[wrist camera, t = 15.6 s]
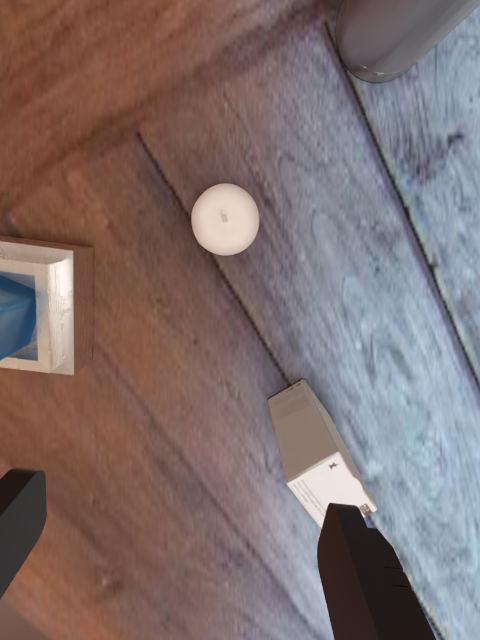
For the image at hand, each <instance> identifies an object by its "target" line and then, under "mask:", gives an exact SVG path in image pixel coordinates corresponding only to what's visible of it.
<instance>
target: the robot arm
mask: <svg viewBox="0 0 480 640" xmlns="http://www.w3.org/2000/svg"><path fill="white" fill-rule="evenodd" d="M479 5H480V0H344V1H343V3H342V6H341V8H340V11H339V14H338V18H337V24H336V42H337V47H338V51H339V54H340V56H341V59H342V61H343V62H344V64H345V65H346V67H347V68H348V69H349V70H350V71H351V72H352V73H353V74H354V75H355V76H357V77H359V78H360V79H362V80H365V81H369V82H379V83H381V82H386V81H390V80H393V79H395V78H397V77H399V76H401V75H402V74H403V73H405V72H406V71H407V70H409V69H410V68H411V67H412V66H413V65H414V64H415V63H416V62H418V61H419V60H420V59H421V58H422V57H423V56H424V55H425V54H426V53H427V52H429V51H430V50H431V49H432V48H433V47H434V46H435V45H436V44H438V43H439V42H440V41H441V40H442V39H443V38H444V37H445V36H446V35H447V34H448V33H450V32H451V31H452V30H453V29H454V28H455V27H456V26H457V25H458V24H459V23H461V22H462V21H463V20H464V19H465V18H466V17H467V16H468V15H469V14H470V13H471V12H473V11H474V10H475V9H476V8H477V7H478V6H479ZM46 515H47V509H46V481H45V473H44V471H42V470H33V469H24V468H12V469H10V470H9V471H8V472H7V473H6V474H5V475H4V476H3V477H2V478H1V479H0V599H1V597H2V596H3V594H4V593H5V591H6V590H7V588H8V586H9V585H10V583H11V582H12V580H13V579H14V577H15V575H16V574H17V572H18V571H19V569H20V568H21V566H22V564H23V563H24V561H25V560H26V558H27V557H28V555H29V553H30V552H31V550H32V549H33V547H34V546H35V544H36V542H37V541H38V539H39V537H40V535H41V533H42V531H43V528H44V525H45V521H46ZM317 560H318V568H319V573H320V578H321V582H322V586H323V591H324V595H325V600H326V604H327V608H328V613H329V617H330V622H331V626H332V630H333V635H334V639H335V640H436V638H435V636H434V634H433V631H432V629H431V627H430V625H429V623H428V621H427V619H426V617H425V615H424V612H423V610H422V608H421V606H420V604H419V602H418V600H417V598H416V595H415V593H414V591H412V590H411V585H410V583H409V581H408V579H407V576H406V574H405V573H404V572H403V568H402V566H401V564H400V562H399V559H398V557H397V555H396V553H395V551H394V549H393V547H392V546H391V545H390V543H389V542H388V541H387V540H386V539H385V538H384V536H383V535H382V534H381V533H380V532H379V531H378V529H374V528H367V525H366V523H365V521H364V518H363V516H362V513H361V511H360V509H359V508H358V507H357V506H356V505H347V504H338V503H329V504H328V507H327V510H326V514H325V518H324V522H323V526H322V530H321V534H320V537H319V541H318V548H317Z"/></svg>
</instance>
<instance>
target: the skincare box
mask: <svg viewBox="0 0 480 640" xmlns="http://www.w3.org/2000/svg"><path fill="white" fill-rule="evenodd" d="M268 404H269V408H270V412H271V417H272V421H273V425H274V430H275V434H276V438H277V442H278V447H279V451H280V455H281V459H282V464H283V468H284V472H285V477H286V481H287V485H288V486H289V488H290V489H291V490H292V491H293V493H294V494H295V496H296V497H297V498H298V499H299V501H300V502H301V503H302V505H303V506H304V507H305V509H306V510H307V511H308V512H309V514H310V515H311V516H312V517H313V519H314V520H315V521H316V523H317V524H318V525H319V526H320V528H321V529H322V526H323V522H324V518H325V514H326V510H327V507H328V504H329V503H338V504H347V505H356V506H357V507H358V508H359V509H360V511H361V513H362V516H363V518H364V517H365V516H367V515H369V514H371V513H372V512H374V511H376V510H377V507H376V505H375V503H374V501H373V499H372V497H371V495H370V493H369V491H368V489H367V487H366V485H365V483H364V482H363V480H362V478H361V476H360V474H359V472H358V470H357V468H356V466H355V464H354V462H353V460H352V458H351V456H350V454H349V452H348V450H347V448H346V446H345V445H344V443H343V441H342V439H341V437H340V435H339V433H338V431H337V429H336V427H335V425H334V423H333V421H332V419H331V417H330V416H329V414H328V412H327V411H326V409H325V408H324V407H323V405H322V404H321V402H320V401H319V399H318V398H317V397H316V395H315V394H314V392H313V391H312V390H311V389H310V387H309V386H308V384H307V383H306V381H305V380H304V379H302V380H300V381H299V382H297V383H295V384H294V385H292V386H290V387H289V388H287V389H285V390H283V391H281V392H280V393H278V394H276V395H274V396H273V397H271V398H269V399H268Z"/></svg>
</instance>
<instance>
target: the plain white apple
mask: <svg viewBox="0 0 480 640" xmlns="http://www.w3.org/2000/svg"><path fill="white" fill-rule="evenodd" d="M191 223H192V228H193V232H194V235H195V237H196V239H197V241H198V242H199V243H200V244H201V245H202V246H203V247H204V248H205V249H207V250H208V251H210V252H212V253H214V254H218V255H234V254H237V253H239V252H241V251H243V250H245V249H246V248H247V247H248V246H249V245H250V244H251V243H252V242H253V240H254V239H255V237H256V234H257V232H258V228H259V213H258V209H257V206H256V204H255V202H254V200H253V198H252V197H251V196H250V195H249V193H247V192H246V191H245V190H244V189H242V188H240V187H239V186H237V185H233V184H228V183H222V184H218V185H215V186H213V187H210V188H209V189H207V190H206V191H205V192H204V193H203V194H202V195H201V196H200V197H199V198H198V200H197V201H196V203H195V205H194V207H193V210H192V214H191Z"/></svg>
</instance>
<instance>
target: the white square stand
mask: <svg viewBox="0 0 480 640" xmlns="http://www.w3.org/2000/svg"><path fill="white" fill-rule="evenodd" d="M93 273H94V247H87V246H79V245H72V244H64V243H57V242H49V241H42V240H34V239H27V238H19V237H12V236H4V235H0V275H1V276H4V277H6V278H8V279H11V280H13V281H15V282H18V283H20V284H22V285H25V286H27V287H29V288H32V289H34V290H35V294H36V320H37V321H36V324H35V327H34V331H33V334H32V337H31V340H30V343H29V344H28V345H27V346H25V347H23V348H21V349H20V350H18V351H16V352H14V353H13V354H11V355H9V356H7V357H6V358H4V359H2V360H0V367H4V368H13V369H21V370H30V371H38V372H46V373H59V374H68V375H75V374H76V373H77V372H78V371H79V370H80V369H81V368H82V367H83V366H85V365H86V364H87V363H88V362H89V361H90V360H91V359H92V358H93Z"/></svg>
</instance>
